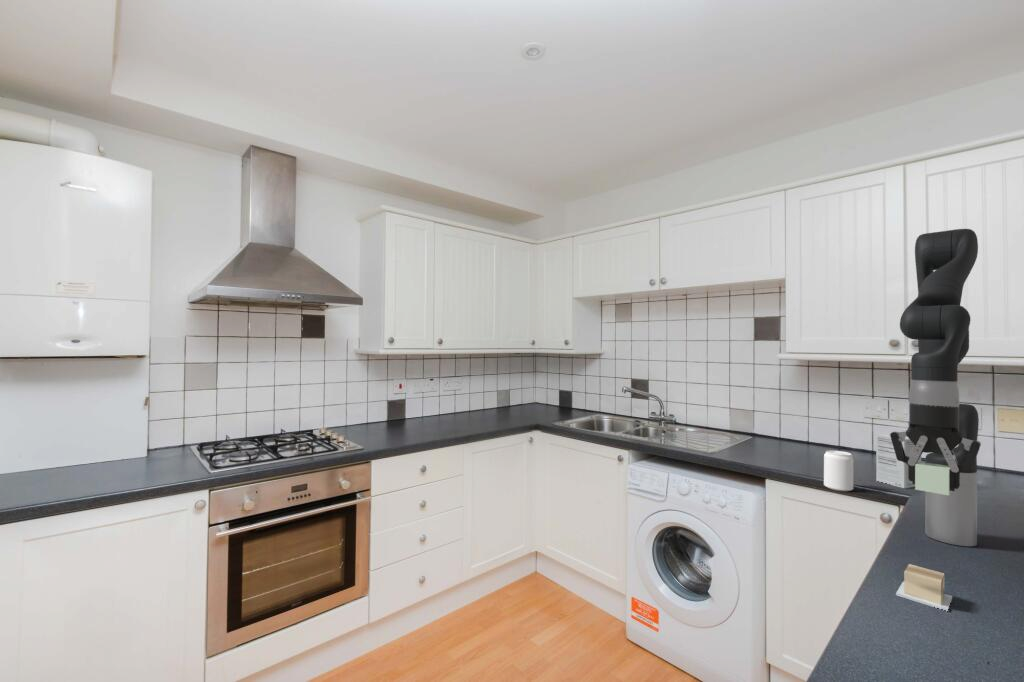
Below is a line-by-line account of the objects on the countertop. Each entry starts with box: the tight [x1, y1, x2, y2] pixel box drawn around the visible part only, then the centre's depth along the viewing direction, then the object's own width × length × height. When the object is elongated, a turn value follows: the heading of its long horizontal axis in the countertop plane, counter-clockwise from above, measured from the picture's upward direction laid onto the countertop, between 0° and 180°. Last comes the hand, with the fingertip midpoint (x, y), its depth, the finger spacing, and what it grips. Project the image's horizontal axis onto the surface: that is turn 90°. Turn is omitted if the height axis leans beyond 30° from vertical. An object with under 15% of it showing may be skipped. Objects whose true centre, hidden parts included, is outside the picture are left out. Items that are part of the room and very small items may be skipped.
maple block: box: [903, 563, 945, 605], centre depth 86 cm, size 5×5×4 cm
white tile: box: [895, 580, 953, 612], centre depth 85 cm, size 7×7×1 cm
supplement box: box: [875, 433, 922, 489], centre depth 164 cm, size 10×9×17 cm
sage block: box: [914, 461, 952, 495], centre depth 94 cm, size 5×5×5 cm
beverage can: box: [823, 449, 854, 492], centre depth 156 cm, size 8×8×12 cm
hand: (933, 486), depth 94 cm, fingers closed on sage block, 5 cm apart
